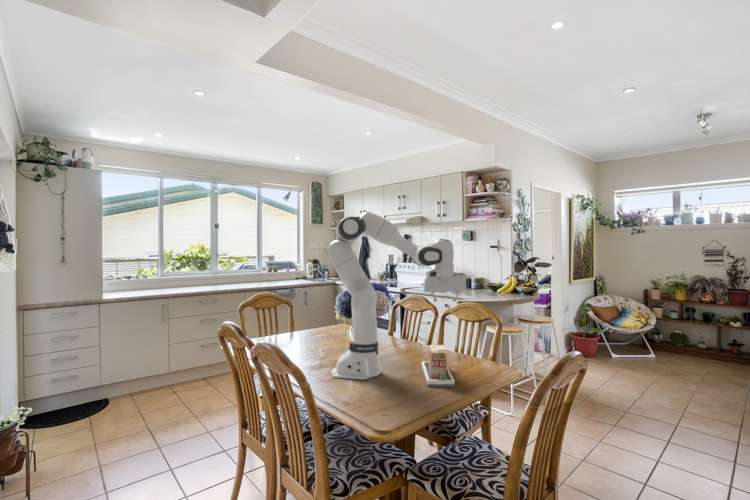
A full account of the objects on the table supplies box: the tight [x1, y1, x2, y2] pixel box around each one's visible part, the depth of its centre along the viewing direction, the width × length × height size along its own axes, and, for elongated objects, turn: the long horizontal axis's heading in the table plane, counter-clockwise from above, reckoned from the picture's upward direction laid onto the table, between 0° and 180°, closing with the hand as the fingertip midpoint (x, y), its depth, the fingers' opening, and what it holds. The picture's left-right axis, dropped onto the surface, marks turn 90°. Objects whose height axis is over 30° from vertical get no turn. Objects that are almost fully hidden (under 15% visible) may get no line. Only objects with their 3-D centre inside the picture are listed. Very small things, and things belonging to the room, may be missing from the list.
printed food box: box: [427, 344, 447, 380], centre depth 164 cm, size 21×6×12 cm, turn 175°
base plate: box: [421, 360, 456, 388], centre depth 164 cm, size 11×26×2 cm, turn 178°
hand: (444, 301), depth 177 cm, fingers open, 8 cm apart
